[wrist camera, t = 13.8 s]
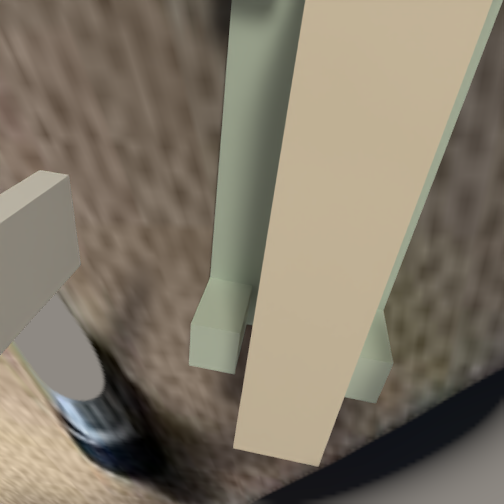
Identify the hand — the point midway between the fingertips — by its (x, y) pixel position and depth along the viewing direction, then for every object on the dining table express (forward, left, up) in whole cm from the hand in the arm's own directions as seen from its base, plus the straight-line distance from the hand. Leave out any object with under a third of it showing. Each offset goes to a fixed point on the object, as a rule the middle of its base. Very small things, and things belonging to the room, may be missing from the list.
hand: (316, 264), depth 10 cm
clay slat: (0, 0, -10) cm, 10 cm away
